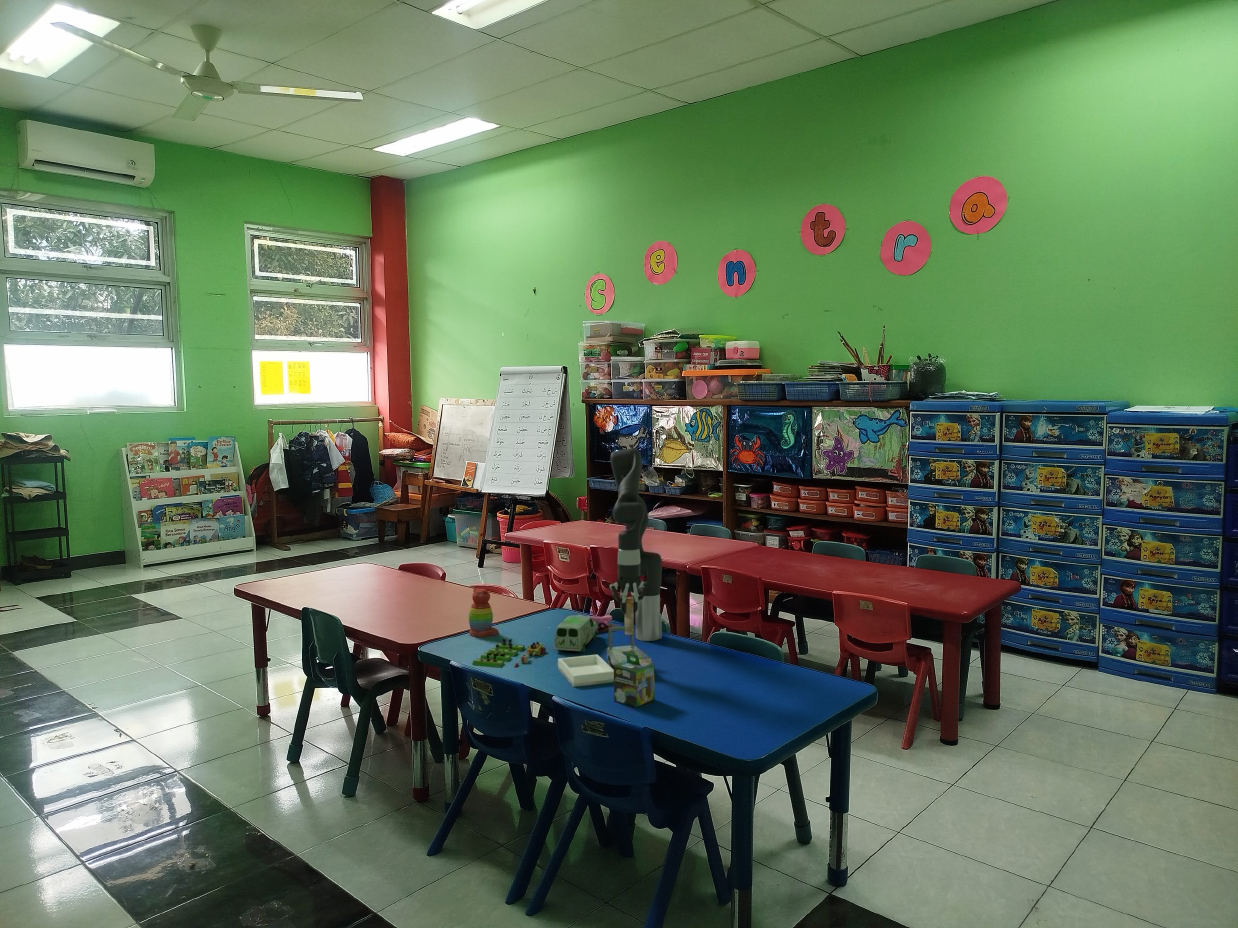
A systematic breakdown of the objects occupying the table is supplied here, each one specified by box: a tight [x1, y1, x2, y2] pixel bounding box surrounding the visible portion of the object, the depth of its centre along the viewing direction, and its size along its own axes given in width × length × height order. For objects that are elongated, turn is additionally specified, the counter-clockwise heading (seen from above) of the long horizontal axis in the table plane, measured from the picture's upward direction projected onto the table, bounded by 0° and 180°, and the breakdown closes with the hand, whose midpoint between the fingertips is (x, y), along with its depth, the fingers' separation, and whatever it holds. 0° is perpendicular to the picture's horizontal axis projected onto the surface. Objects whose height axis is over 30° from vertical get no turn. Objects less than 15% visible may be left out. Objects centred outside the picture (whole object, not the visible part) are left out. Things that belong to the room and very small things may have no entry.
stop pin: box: [624, 596, 635, 636], centre depth 278 cm, size 3×3×12 cm
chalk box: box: [613, 652, 656, 708], centre depth 251 cm, size 9×9×15 cm
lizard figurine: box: [576, 614, 621, 636], centre depth 331 cm, size 15×20×7 cm
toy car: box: [553, 615, 598, 653], centre depth 309 cm, size 11×25×10 cm, turn 167°
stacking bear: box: [468, 587, 499, 638], centre depth 324 cm, size 11×10×18 cm
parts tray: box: [557, 654, 614, 688], centre depth 274 cm, size 14×19×4 cm
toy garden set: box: [472, 638, 547, 668], centre depth 294 cm, size 23×19×5 cm
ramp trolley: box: [606, 625, 652, 668], centre depth 279 cm, size 10×16×13 cm, turn 19°
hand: (629, 612), depth 278 cm, fingers closed on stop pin, 3 cm apart
